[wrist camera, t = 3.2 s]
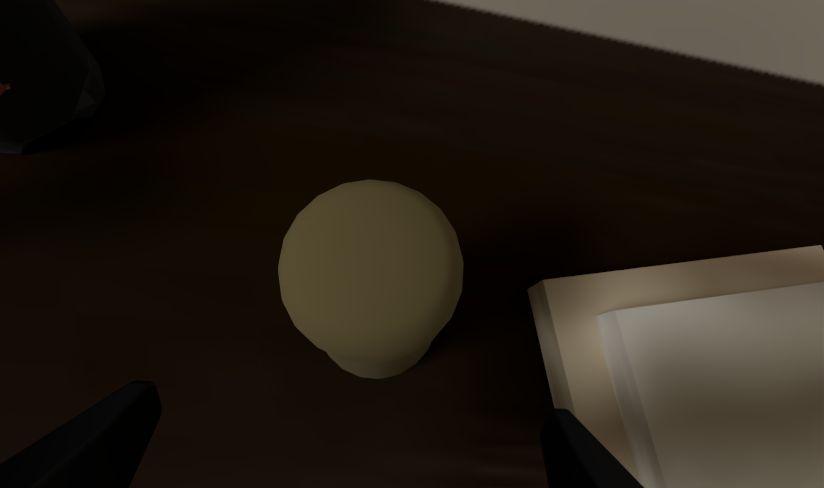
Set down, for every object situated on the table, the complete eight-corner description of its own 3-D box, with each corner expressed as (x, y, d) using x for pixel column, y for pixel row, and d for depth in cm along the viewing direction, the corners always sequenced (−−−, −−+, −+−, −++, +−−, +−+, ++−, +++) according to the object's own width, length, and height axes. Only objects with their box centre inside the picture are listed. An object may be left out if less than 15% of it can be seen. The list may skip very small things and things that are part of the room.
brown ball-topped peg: (317, 260, 21) (252, 147, 11) (432, 255, 22) (477, 142, 11) (316, 383, 19) (236, 389, 9) (441, 374, 20) (506, 371, 9)
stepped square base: (917, 571, 18) (1055, 622, 15) (608, 642, 17) (672, 718, 13) (781, 257, 23) (859, 233, 19) (527, 289, 21) (558, 270, 18)
